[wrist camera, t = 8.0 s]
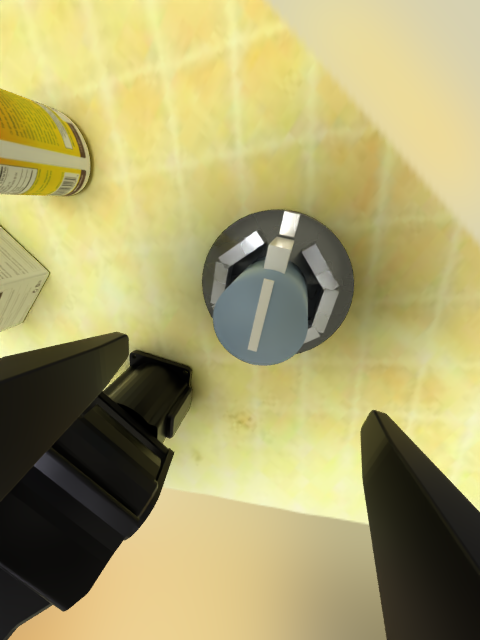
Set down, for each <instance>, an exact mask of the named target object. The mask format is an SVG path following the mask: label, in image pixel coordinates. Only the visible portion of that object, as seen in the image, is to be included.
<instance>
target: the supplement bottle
mask: <svg viewBox="0 0 480 640" xmlns="http://www.w3.org/2000/svg"><path fill="white" fill-rule="evenodd" d="M89 175H90V156H89V151H88V148H87V145H86V142H85V140H84V138H83V136H82V134H81V132H80V131H79V129H78V128H77V127H76V125H75V124H74V123H73V122H72V121H71V120H70V119H69V118H68V117H67V116H66V115H64V114H63V113H61V112H59V111H58V110H56V109H53V108H51V107H48V106H46V105H43V104H40V103H38V102H35V101H32V100H30V99H27V98H24V97H22V96H19V95H16V94H14V93H11V92H8V91H6V90H3V89H1V88H0V194H11V195H44V196H70V195H74V194H76V193H78V192H80V191H81V190H82V189H83V188H84V186H85V185H86V183H87V181H88V178H89Z"/></svg>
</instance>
